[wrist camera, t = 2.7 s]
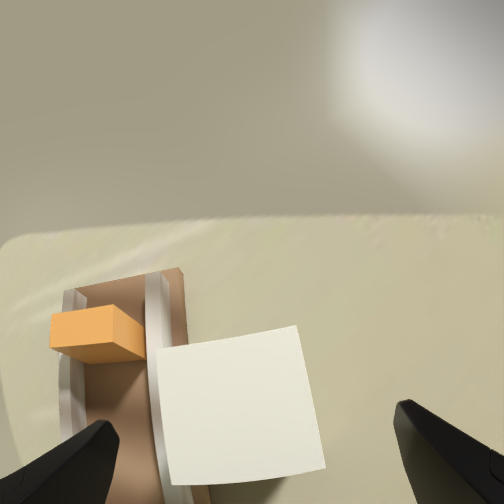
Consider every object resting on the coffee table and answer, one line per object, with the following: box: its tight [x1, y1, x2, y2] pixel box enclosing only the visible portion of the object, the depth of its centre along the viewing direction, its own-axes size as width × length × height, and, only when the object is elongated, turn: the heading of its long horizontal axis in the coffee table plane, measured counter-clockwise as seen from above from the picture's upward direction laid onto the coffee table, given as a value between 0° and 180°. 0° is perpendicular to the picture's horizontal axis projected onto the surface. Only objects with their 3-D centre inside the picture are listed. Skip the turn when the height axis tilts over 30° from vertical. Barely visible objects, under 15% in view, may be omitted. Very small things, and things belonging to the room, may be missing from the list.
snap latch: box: [49, 304, 147, 364], centre depth 16 cm, size 2×4×4 cm, turn 99°
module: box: [156, 325, 326, 485], centre depth 11 cm, size 4×4×10 cm
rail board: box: [59, 267, 212, 504], centre depth 15 cm, size 20×9×3 cm, turn 9°
